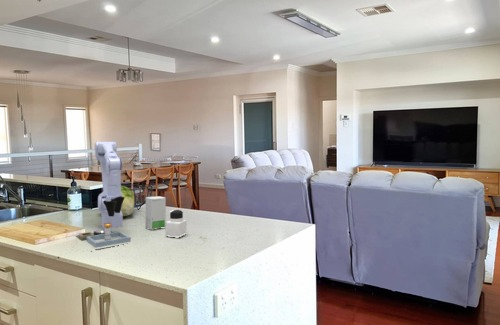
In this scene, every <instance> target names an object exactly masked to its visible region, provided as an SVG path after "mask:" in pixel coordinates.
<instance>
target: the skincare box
mask: <svg viewBox="0 0 500 325" xmlns="http://www.w3.org/2000/svg"><path fill="white" fill-rule="evenodd" d="M166 201H167V199H166V197H164V196H160V195H159V196H146V197H145V221H144V222H145V225H144V226H145V227H146V228H145V229H147V228H149V229H155V228H161V227H165V228H166V219H167V218H166ZM149 229H148V230H149Z"/></svg>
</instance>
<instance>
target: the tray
mask: <svg viewBox="0 0 500 325" xmlns="http://www.w3.org/2000/svg"><path fill="white" fill-rule="evenodd" d="M115 237H120V238H115ZM111 238H115V239H111V240H108V241H105V234H101V235H95V236H88V237H87V240H86V242H88V243H89V244H90V245H91V246H93V247H95V249H94V251H99V250H100V251H101V250H105V249H110V248H111V247H112V248H116V247H115V246H117V247H120V246H119V245H120V244H121V245H123V246H125V245H124V244H126V243H131V242H132V240H131V238H132V237H131V236H130V235H127V234H126V233H124V232H122V231H115V232H111ZM97 240H98V241H97ZM99 240H103V241H99Z"/></svg>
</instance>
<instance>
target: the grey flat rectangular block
mask: <svg viewBox="0 0 500 325" xmlns="http://www.w3.org/2000/svg"><path fill="white" fill-rule="evenodd" d="M101 234H105V229H104V228H97V229H96V230H94V231H93V232H91V231H88V232H82V233H78V235H75V237H76V239H78V240H79V241H81V242H83V241H87V237H88V236H95V235H101Z"/></svg>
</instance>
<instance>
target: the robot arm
mask: <svg viewBox="0 0 500 325" xmlns="http://www.w3.org/2000/svg"><path fill="white" fill-rule="evenodd" d="M117 147H118V146H117V142H116V141H98V140H97V141H95V142H94V155H95V159H96V161H99V164H100V168H101V182H102V192H101V193H99V194H98V196H97V208H98V211H99V212H101V213H100V214H101V215H100V216H101V229H105V227H104V225H103V224H105V223H112V226H111V229H115V228H121V227H124V226H123V225H124V224H123V222H124V221H123V219H124V217H123V215H122V212H121V206H122V203H123V201H124V199H125V197H121V196H122V192H121V186H122V179H121V178H122V174H121V173H122V172H121V171H122V170H123V160H122V159H123V158H122V157H119V156H118V154H117V150H118V149H117Z"/></svg>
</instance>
